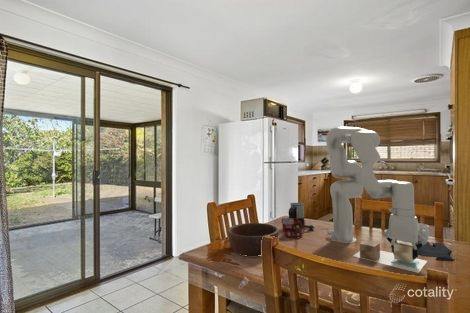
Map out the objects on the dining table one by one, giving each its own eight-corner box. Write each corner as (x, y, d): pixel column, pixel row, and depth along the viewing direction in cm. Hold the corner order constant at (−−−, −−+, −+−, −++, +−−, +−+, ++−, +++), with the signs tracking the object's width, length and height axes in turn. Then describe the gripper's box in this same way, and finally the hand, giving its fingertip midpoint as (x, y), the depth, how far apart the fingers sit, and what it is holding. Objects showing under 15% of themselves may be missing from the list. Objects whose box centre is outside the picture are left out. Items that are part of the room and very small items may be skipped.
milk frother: (292, 224, 171) (291, 202, 171) (316, 226, 165) (315, 203, 165) (287, 229, 158) (286, 205, 158) (313, 232, 152) (313, 207, 152)
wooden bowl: (289, 249, 125) (288, 228, 125) (255, 264, 108) (254, 240, 108) (252, 238, 143) (251, 220, 143) (217, 250, 126) (217, 229, 126)
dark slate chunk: (387, 247, 125) (387, 237, 125) (439, 249, 120) (438, 239, 120) (400, 259, 110) (399, 248, 110) (459, 262, 105) (459, 251, 105)
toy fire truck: (305, 238, 141) (304, 219, 141) (282, 238, 142) (282, 219, 142) (303, 234, 148) (302, 216, 148) (281, 234, 149) (280, 216, 149)
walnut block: (360, 257, 110) (359, 243, 110) (365, 253, 114) (364, 240, 114) (375, 261, 106) (374, 246, 106) (380, 257, 110) (379, 243, 110)
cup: (435, 245, 124) (434, 229, 124) (415, 244, 127) (415, 228, 127) (426, 238, 134) (425, 223, 135) (408, 237, 137) (408, 222, 137)
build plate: (352, 258, 112) (352, 255, 112) (365, 249, 122) (365, 246, 122) (418, 275, 94) (418, 272, 94) (427, 263, 104) (427, 260, 104)
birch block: (394, 258, 104) (393, 244, 104) (398, 254, 108) (398, 240, 108) (411, 262, 100) (411, 247, 100) (415, 258, 104) (415, 243, 104)
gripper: (377, 210, 108) (378, 253, 108) (427, 217, 95) (429, 265, 95) (383, 208, 113) (384, 248, 113) (431, 213, 100) (433, 259, 100)
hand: (404, 256), depth 104 cm, fingers closed on birch block, 6 cm apart
